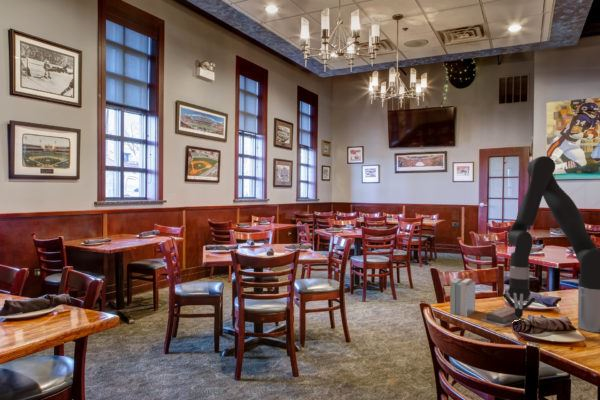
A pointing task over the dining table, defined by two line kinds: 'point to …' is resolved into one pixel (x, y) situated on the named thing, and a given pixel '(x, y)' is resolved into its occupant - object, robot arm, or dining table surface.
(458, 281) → the book row
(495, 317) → the packaged product
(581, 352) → the dining table surface
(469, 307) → the bookend
